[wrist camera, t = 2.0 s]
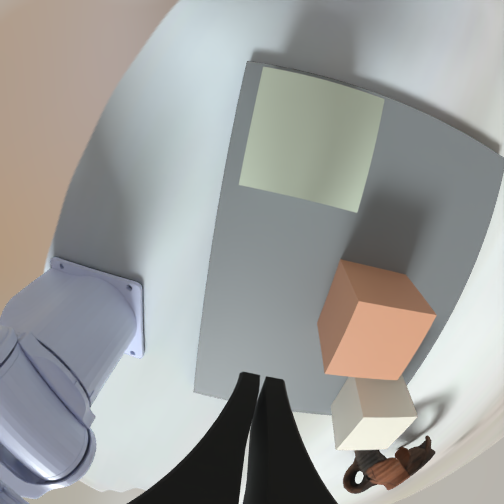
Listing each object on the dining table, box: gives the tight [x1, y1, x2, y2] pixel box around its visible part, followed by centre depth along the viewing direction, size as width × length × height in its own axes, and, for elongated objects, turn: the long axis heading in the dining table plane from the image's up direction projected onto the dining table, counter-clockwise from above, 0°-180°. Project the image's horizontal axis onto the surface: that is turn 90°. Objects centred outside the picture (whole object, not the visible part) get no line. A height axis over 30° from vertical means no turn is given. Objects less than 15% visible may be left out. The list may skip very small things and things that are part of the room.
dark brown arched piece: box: [343, 436, 435, 494], centre depth 25 cm, size 12×10×8 cm
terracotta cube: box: [317, 259, 437, 380], centre depth 16 cm, size 5×5×5 cm
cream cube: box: [331, 374, 418, 450], centre depth 19 cm, size 5×5×5 cm
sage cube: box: [239, 67, 385, 213], centre depth 13 cm, size 5×5×5 cm
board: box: [194, 61, 504, 415], centre depth 19 cm, size 19×26×1 cm
